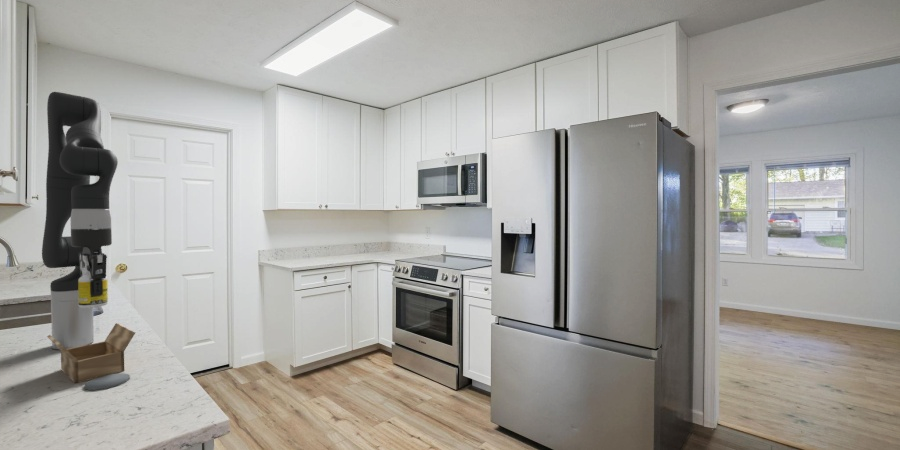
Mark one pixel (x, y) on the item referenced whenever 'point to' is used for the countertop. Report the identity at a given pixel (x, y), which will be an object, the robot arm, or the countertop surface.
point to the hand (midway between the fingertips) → (93, 294)
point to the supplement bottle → (84, 292)
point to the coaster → (107, 381)
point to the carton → (96, 356)
